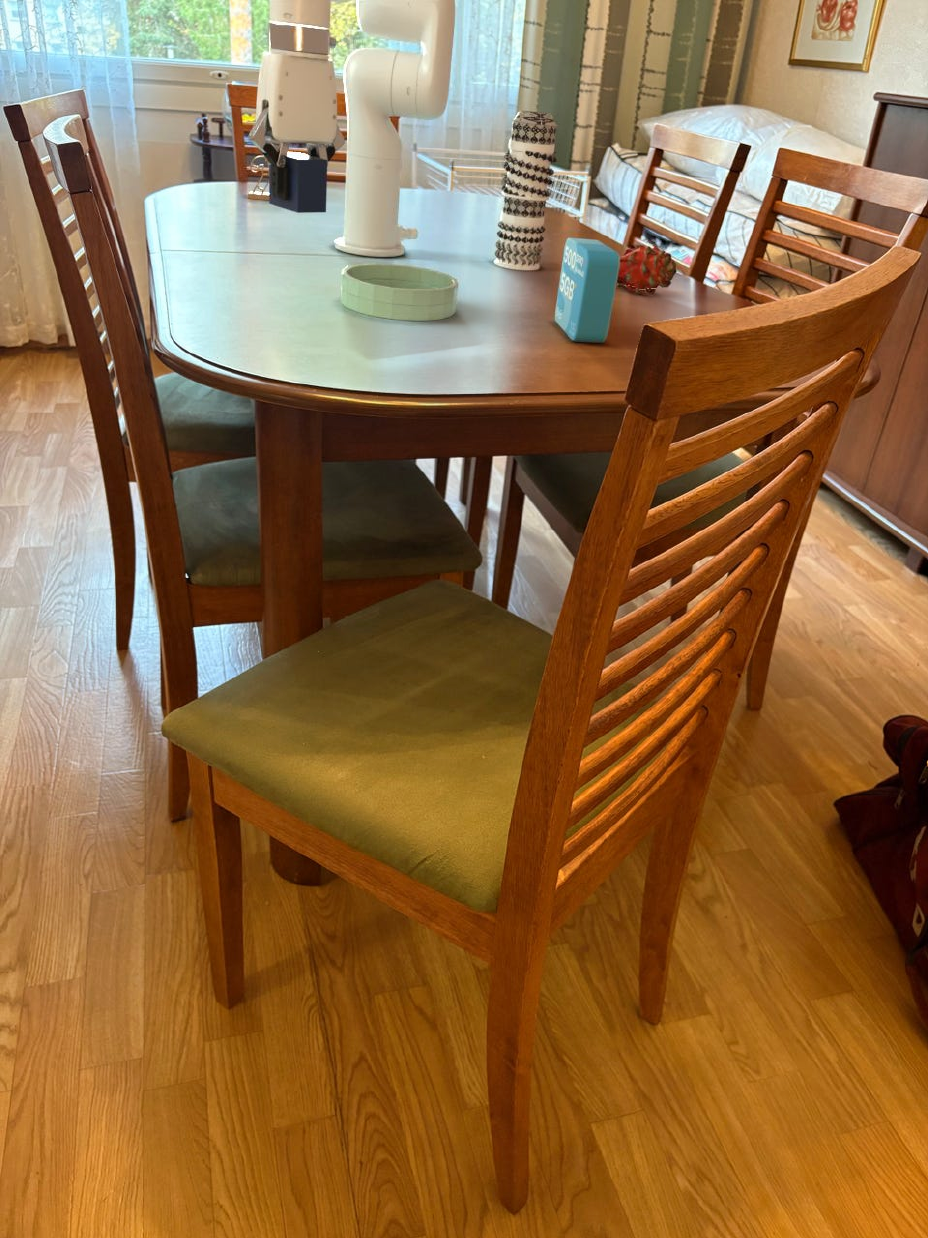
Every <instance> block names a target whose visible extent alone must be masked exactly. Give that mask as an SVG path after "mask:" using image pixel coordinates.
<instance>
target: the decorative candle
mask: <svg viewBox="0 0 928 1238" xmlns="http://www.w3.org/2000/svg"><path fill="white" fill-rule="evenodd" d="M511 121H512V126H511V132H510V133H511V135H510V138H509V141H508V149H509V150H508V151H506V152H505V153H504V155H503V157H504V159H505V160H506V161H505V162H504V163H503V164H502V168H503V169H504V170H505V171H506V173H505V174H503V176H502V181H503V182H504V183H503V184H502V186H501V188H500V189H501V195H502V196H503V201H502V202H503V203H502V210H501V211H500V221H499V222H498V223H497V226H498V228H499V229H500V230H498V231H496V235H497V237H498V240H497V241H496V242H495V244H494V245H495V247H496V250H495V251H494V256H495V259H494V260H493V264H494V265H496V266H497V267H501V268H506V269H510V270H516V271H537V270H539V269H540V267H541V266H540V264H539V263H540V262H541V260H542V256H541V253H542V251H543V250H544V248H543V246H542V245H541V242H543V241H544V240H545V237H544V236H543V235H542V234H543V233H545V231H546V228H545V227H544V226H545V220H546V219H545V218H546V216H545V212H546V207H547V206H546V204H547V201H549V199H550V196H551V195H550V194H551V193H550V191H548V186H551V185H552V184H553V183H554V182H553V180H552V178H550V177H551V176H553V175H554V173H555V171H554V170H553V168H552V167H551V164H552V165H553V164H555V163H556V162H557V160H558V159H557V158H556V156H554V155H555V154H556V153H557V151H555V146H556V145H555V139H556V130H557V127H558V124H556V122H555V119H554V117H553V115H552V114H550V113H546V112H541V111H532V110H520V111H518V112H517V114H516V116H515V117H514V118H513V119H511Z"/></svg>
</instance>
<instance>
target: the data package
mask: <svg viewBox="0 0 928 1238" xmlns="http://www.w3.org/2000/svg"><path fill="white" fill-rule="evenodd" d="M619 256H620V254H619V253H618V252H617V251H616V250H614V249H612V247H609V246H608V245H606V244H605V243H604V242H602V241H600V240H599V239H590V238H581V237H580V238H578V237H568V238H567V239H566V241H565V244H564V248H563V257H562V263H561V269H560V275H559V283H558V289H557V296H556V304H555V311H554V320H555V321H554V322H555V323H556V324H558V326H559V327H560V328H561V329H562V330H563V331H564V332H565V335H566V336H567V337H568V338H569V339H570V340H571V341H572V342H576V343H593V344H604V343H605V342H606V340H607V338H608V335H609V334H608V333H609V330H610V329H609V328H610V322H611V318H612V311H613V306H614V300H615V296H616V289H617V285H618V284H617V278H618V273H619V267H620V257H619Z"/></svg>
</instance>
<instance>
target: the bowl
mask: <svg viewBox="0 0 928 1238" xmlns="http://www.w3.org/2000/svg"><path fill="white" fill-rule="evenodd" d="M458 292H459V281H458V280H457V278H456V277H453V276H452V275H450V274H447V273H444V272H441V271H439V270H435V269H430V268H425V267H419V266H412V265H406V264H397V263H395V264H394V263H360V264H359V263H358V264H354V265H349V266H348V265H347V266H346V267H345V268H343V269H342V271H341V293H340V294H341V295H340V297H341V299H340V301H341V302H340V303H341V304H342V305H343V306H344V307H345V308H346V309H349V310H350V311H354V312H356V313H359V314H362V315H367V316H369V317H374V318H381V319H388V320H394V321H395V320H396V321H407V322H424V321H425V322H427V321H428V322H430V321H437V320H438V321H439V320H444V319H447V318H450V317H452V316H453V315H455V314H456V313H457V303H458V302H457V301H458V294H459V293H458Z"/></svg>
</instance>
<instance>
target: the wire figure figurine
mask: <svg viewBox="0 0 928 1238" xmlns="http://www.w3.org/2000/svg"><path fill="white" fill-rule="evenodd" d="M265 139H266V140H267V141H268V142H270V141H271V139H270V138H265ZM259 158H264V161H265V163H266V162H267V159H266V158H265V156H264V155H257V156H255V157H254V158H253V159H252V160H251V162H250V166H249V169H250V171H251V172H252V173H254V174H256V173H259V171H260V168H261V176H260V177H259V179H258V182H257V183H256V185H255V187H254V189H253V191H252V190H251V191H249V192H248V193H247V199H249V200H260V201H269V192H265V190H266V189H267V187H268V186H269V179H268V181H267V182H266V184H265V186H264V187H262V186H260V185H259V184H260V182H261V180H262V179H263V177H264V176H266V177H269V168H268V169H267V172H268V173H267V172H264V164H263V163H261V164H259V165H256V164H254V161H255V160H257V159H259ZM267 167H269V164H268V163H267ZM253 168H255V169H257V170H254V169H253ZM256 189H258V190H260V191H256Z"/></svg>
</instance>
